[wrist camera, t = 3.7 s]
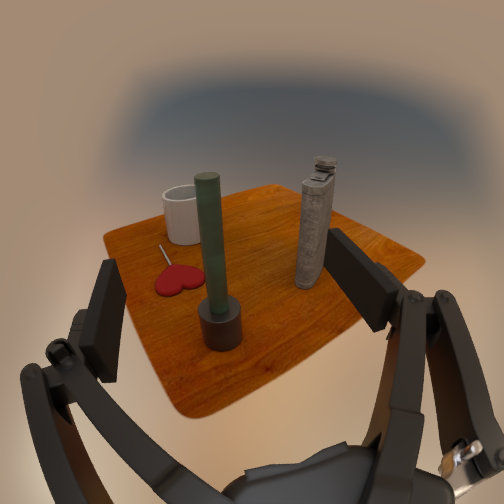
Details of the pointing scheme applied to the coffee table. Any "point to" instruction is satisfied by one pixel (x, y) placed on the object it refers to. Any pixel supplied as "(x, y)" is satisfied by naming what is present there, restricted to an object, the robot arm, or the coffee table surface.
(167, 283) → the lollipop
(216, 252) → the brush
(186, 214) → the canister
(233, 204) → the coffee table surface
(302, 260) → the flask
